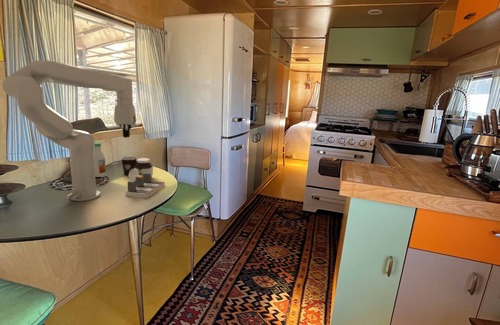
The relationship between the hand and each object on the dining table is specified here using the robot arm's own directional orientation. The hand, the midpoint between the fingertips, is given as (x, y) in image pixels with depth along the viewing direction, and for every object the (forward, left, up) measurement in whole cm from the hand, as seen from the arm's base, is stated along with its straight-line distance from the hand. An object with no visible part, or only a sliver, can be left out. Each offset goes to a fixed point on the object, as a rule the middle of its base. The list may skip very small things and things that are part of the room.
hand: (126, 137), depth 144 cm
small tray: (-7, -14, -26) cm, 31 cm away
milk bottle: (+7, +23, -27) cm, 36 cm away
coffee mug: (+17, +8, -27) cm, 33 cm away
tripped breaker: (-7, -11, -24) cm, 27 cm away
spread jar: (+10, -2, -27) cm, 29 cm away
